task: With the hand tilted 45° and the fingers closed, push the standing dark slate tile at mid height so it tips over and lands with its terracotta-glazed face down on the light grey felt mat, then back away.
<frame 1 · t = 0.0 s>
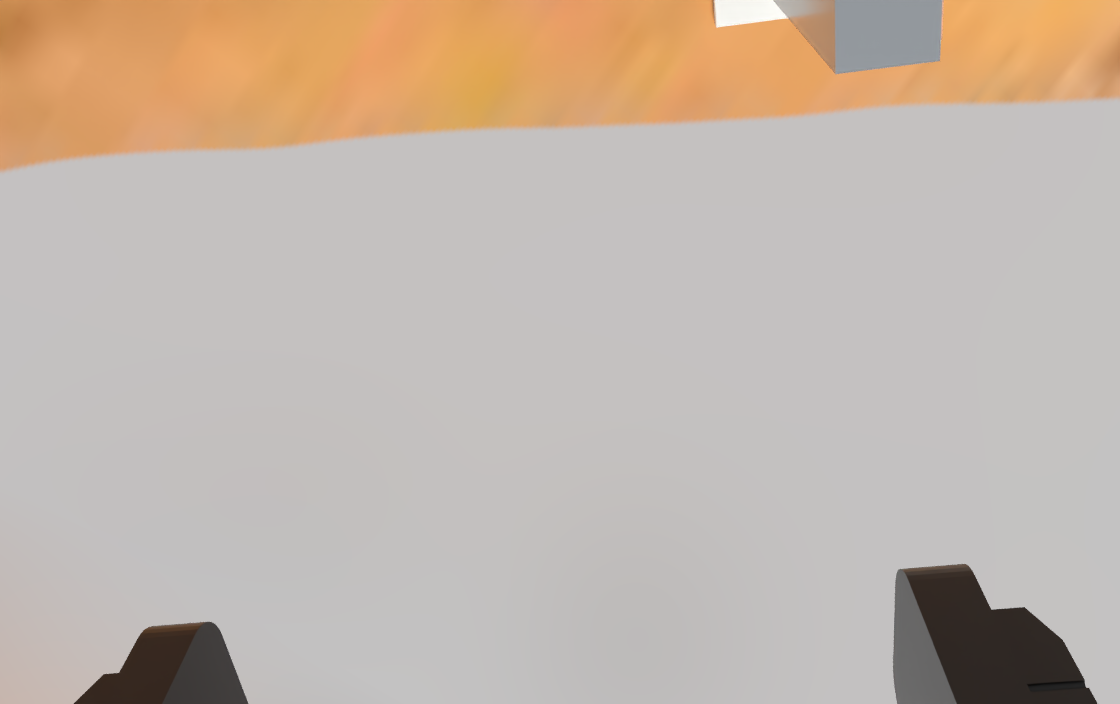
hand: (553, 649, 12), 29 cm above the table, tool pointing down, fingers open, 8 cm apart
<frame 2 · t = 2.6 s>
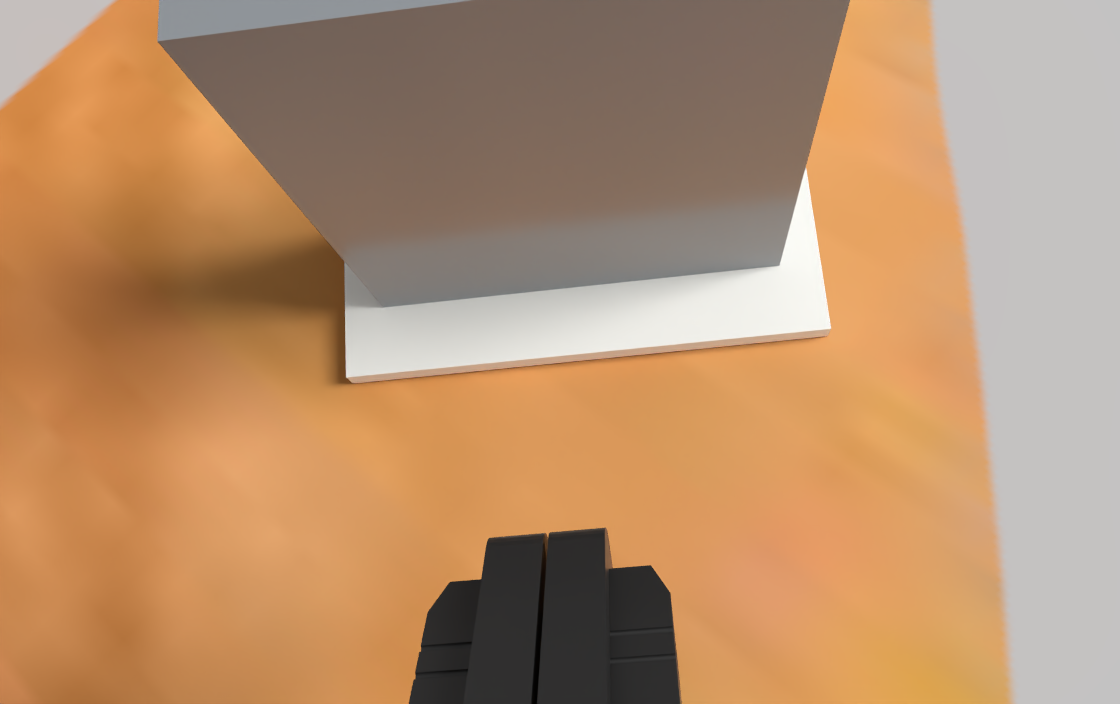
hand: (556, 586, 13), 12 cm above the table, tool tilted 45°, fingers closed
mat: (562, 80, 28), on the table
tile: (574, 240, 26), point 1 cm above the table, touching mat
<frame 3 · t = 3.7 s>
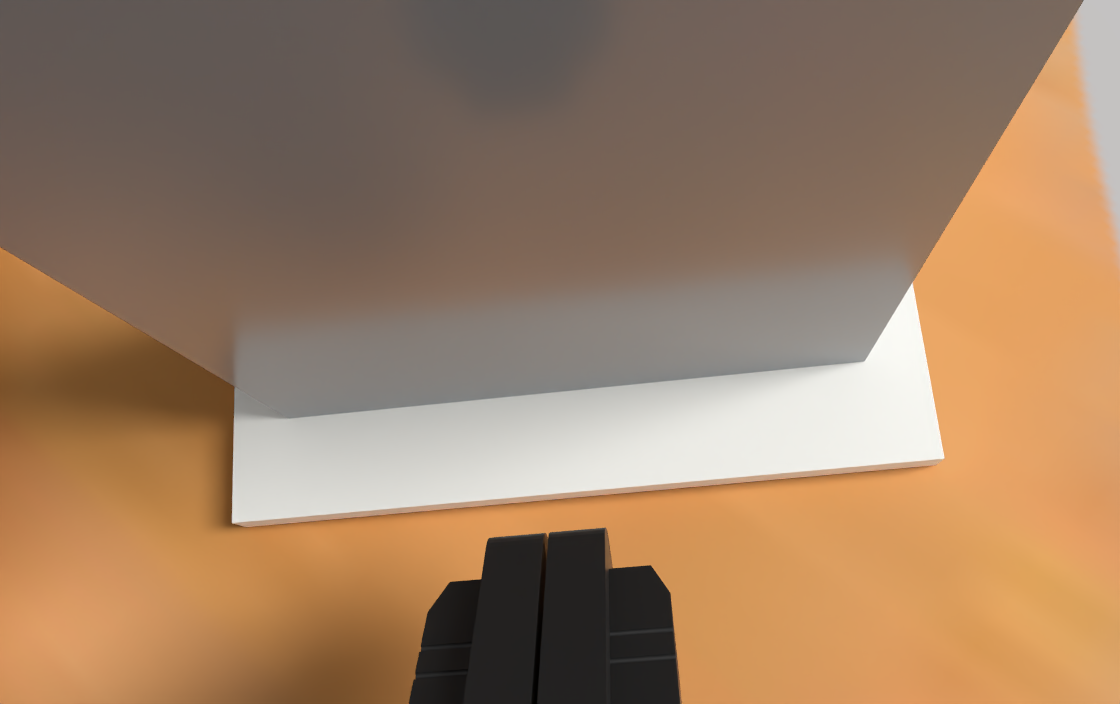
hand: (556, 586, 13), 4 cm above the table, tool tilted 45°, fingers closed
mat: (548, 89, 20), on the table
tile: (563, 322, 18), point 1 cm above the table, touching mat
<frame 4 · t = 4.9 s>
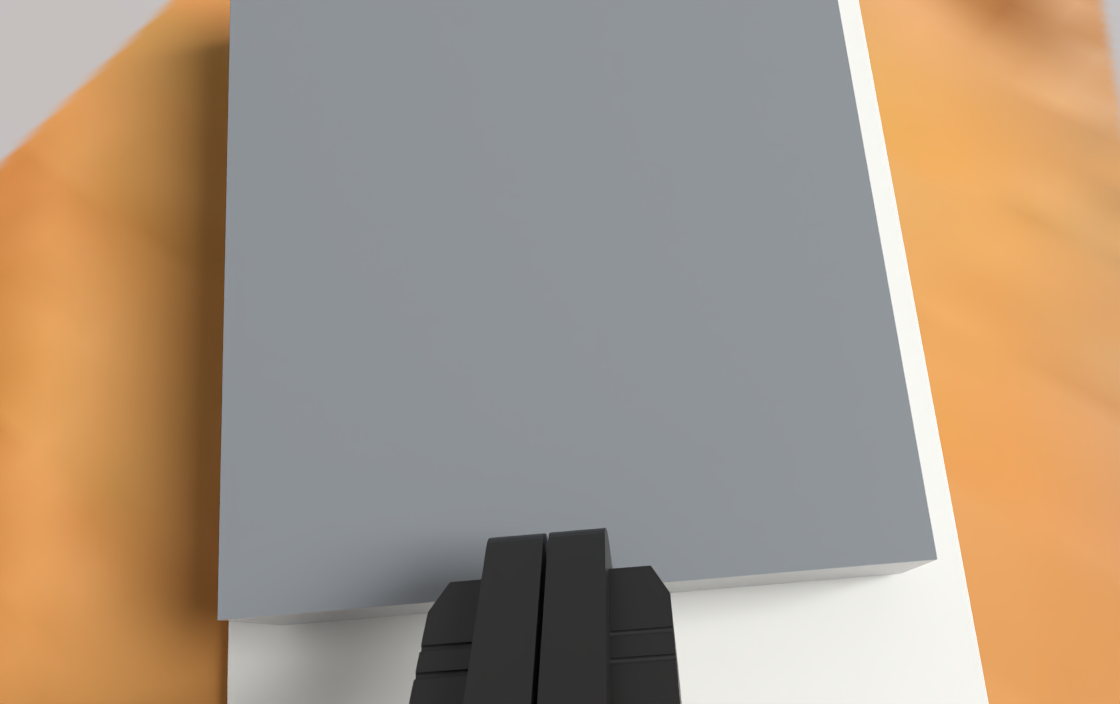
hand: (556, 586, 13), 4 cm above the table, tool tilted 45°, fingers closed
mat: (571, 397, 18), on the table
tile: (575, 595, 15), point 2 cm above the table, tilted 90°, touching mat
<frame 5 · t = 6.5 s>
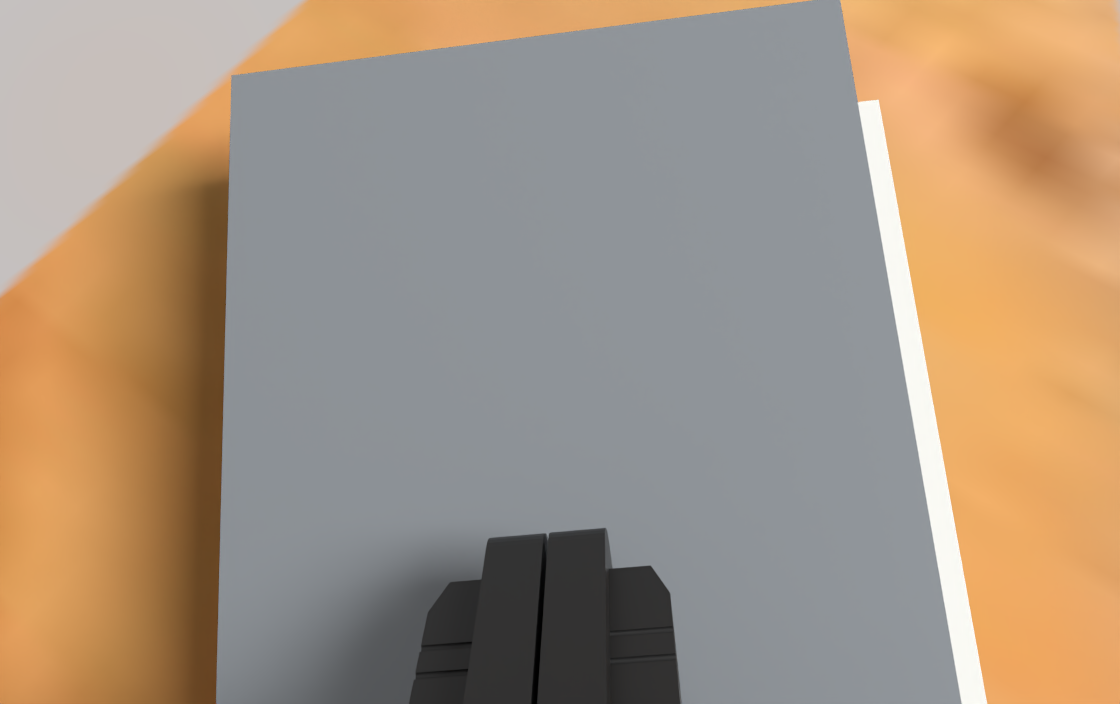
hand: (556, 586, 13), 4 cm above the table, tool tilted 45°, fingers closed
mat: (585, 579, 17), on the table
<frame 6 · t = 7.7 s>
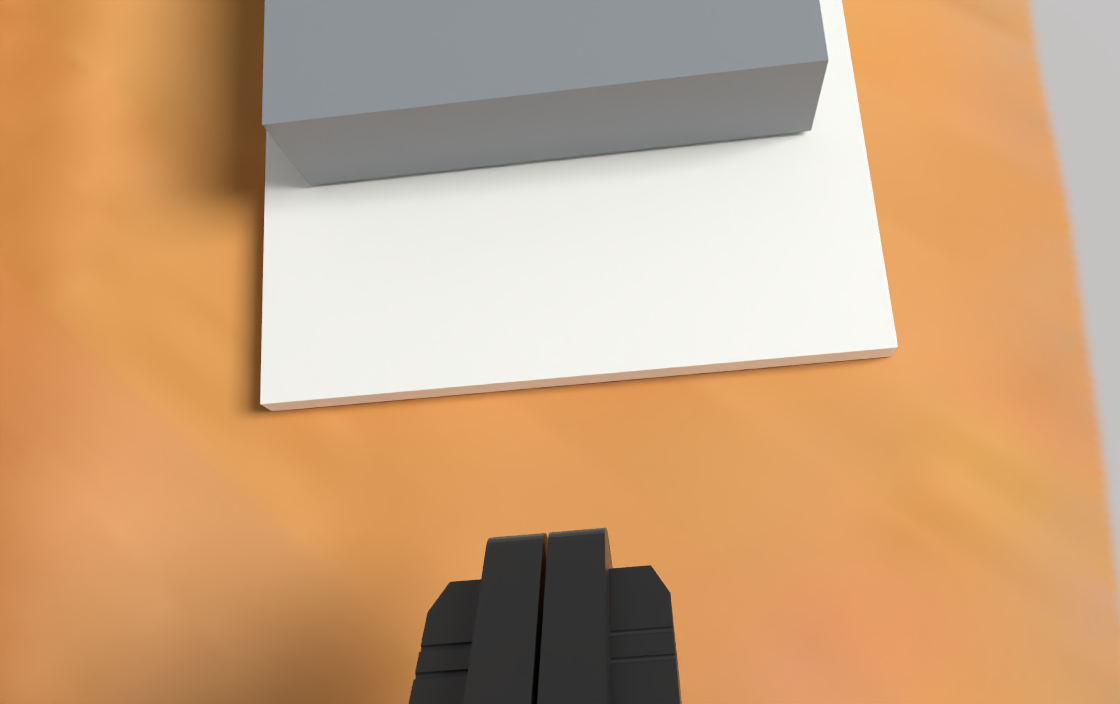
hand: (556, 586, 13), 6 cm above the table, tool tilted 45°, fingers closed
mat: (549, 24, 22), on the table
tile: (547, 127, 19), point 2 cm above the table, tilted 90°, touching mat
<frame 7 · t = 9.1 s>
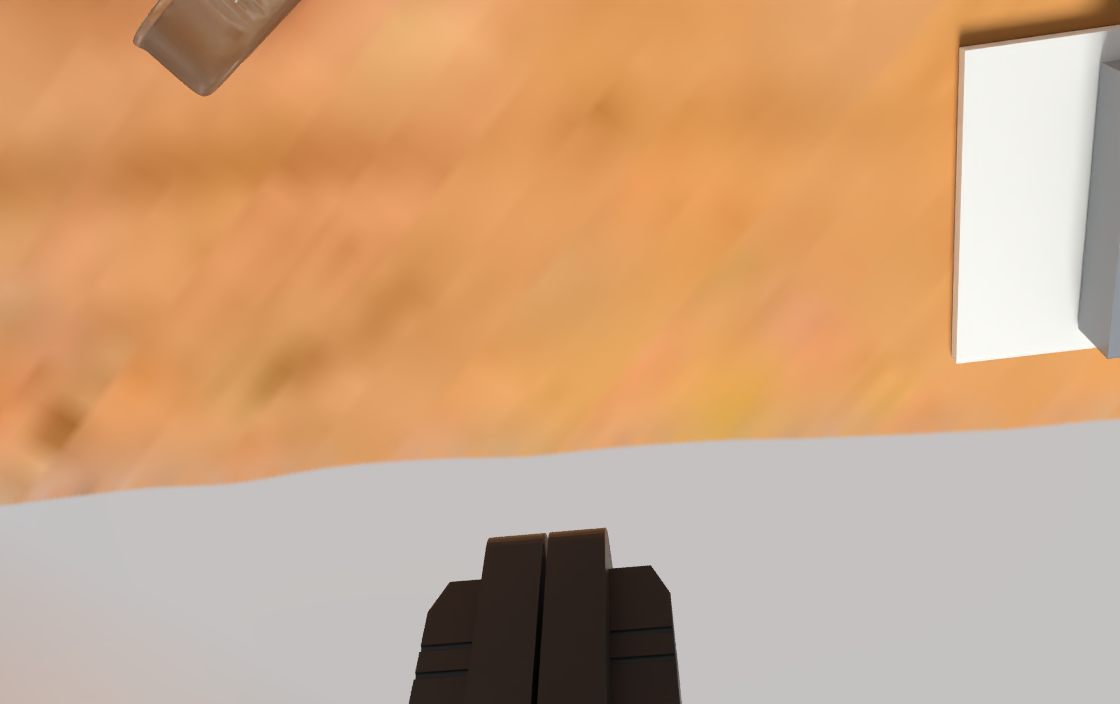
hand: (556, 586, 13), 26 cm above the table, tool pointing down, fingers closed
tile: (1104, 215, 36), point 2 cm above the table, tilted 90°, touching mat
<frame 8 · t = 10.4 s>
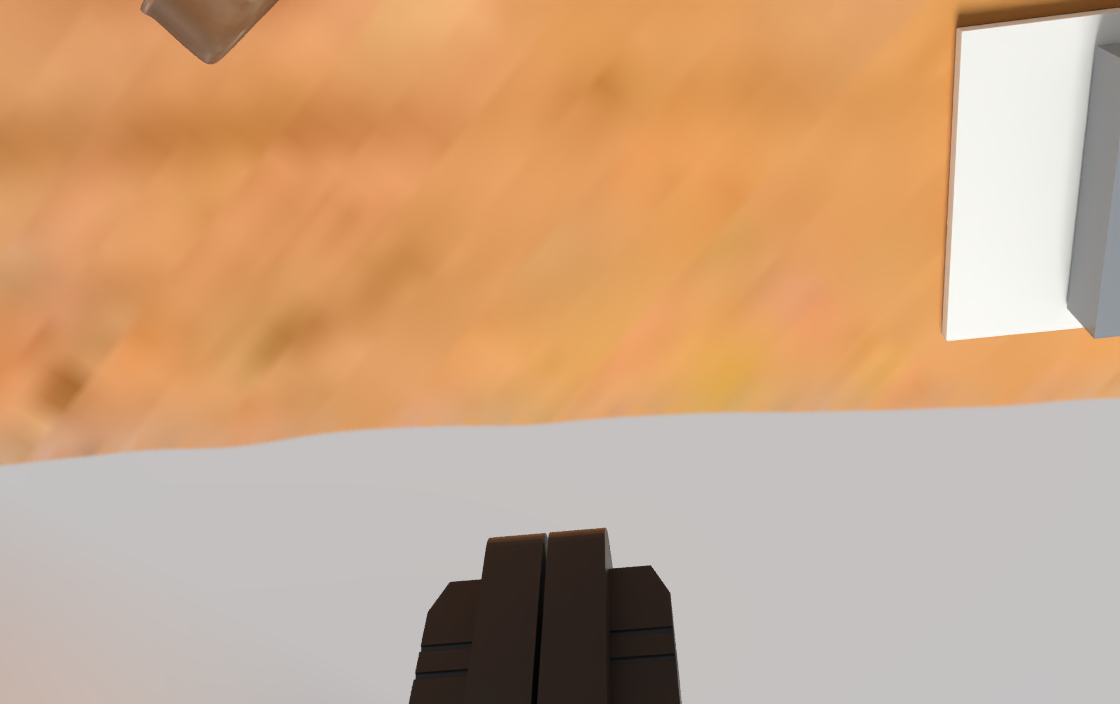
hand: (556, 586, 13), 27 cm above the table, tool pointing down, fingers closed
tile: (1095, 197, 36), point 2 cm above the table, tilted 90°, touching mat
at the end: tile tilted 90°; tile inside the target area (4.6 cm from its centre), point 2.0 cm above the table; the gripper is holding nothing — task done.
